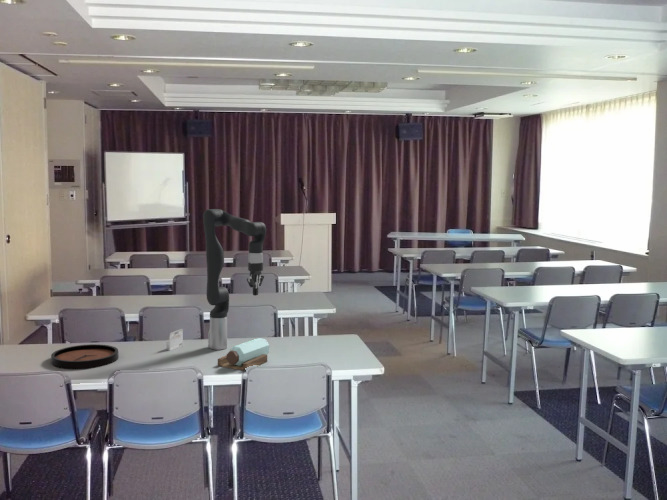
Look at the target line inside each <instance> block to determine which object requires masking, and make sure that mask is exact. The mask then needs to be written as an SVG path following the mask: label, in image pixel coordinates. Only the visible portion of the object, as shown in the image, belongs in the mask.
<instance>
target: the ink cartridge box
mask: <svg viewBox="0 0 667 500" xmlns="http://www.w3.org/2000/svg"><path fill="white" fill-rule="evenodd" d="M183 330H184V329H183V328H181V329H177V330H174V331H172V332H169V339H168V340H166V341H165V342H166V351H172V350H175V349H178V348H180V347H181V348H182V347H183V346H184V340H183V339H184V338H183V333H184V331H183Z"/></svg>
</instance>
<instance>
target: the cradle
mask: <svg viewBox="0 0 667 500" xmlns="http://www.w3.org/2000/svg"><path fill="white" fill-rule="evenodd" d="M267 362H268V354H267V355H265V354H263V355H261V356H258V357H256V358H254V359H252V360H250V361H247V362H245V363H243V365H241V366H237V365H233V364H229V362H228V361H227V354H226V355H224V356H221V357H219V358H217V366H218V367H223V368H228V369H235V370H238V371H239V370H240V371H244V370H245V368H247V367H249V366H253V365H259V366H261V365H263V364H265V363H267Z"/></svg>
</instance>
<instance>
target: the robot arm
mask: <svg viewBox="0 0 667 500" xmlns="http://www.w3.org/2000/svg"><path fill="white" fill-rule="evenodd" d="M202 221H203V222H202V223H203V230H204V237H205V249H206V250H205V252H206V253H205V257H206V275H207V276H206V300H207V303H208V304H209V305H210V306H214V307H213V309H211V310H210V311H209V330H208V332H207V333H208V336H207V337H208V338H207V339H208V341H207V344H208V345H207V348H208V349H211V350H218V351H219V350H225V349H227V348H228V312H229V307H230V293H229V292H230V291H228V289H227V288H226V287H225V286H219V281H220V280H219V278H220V275H221V272H222V271H223V268H224V264H225V255H224V253H225V252H224V248H223V247H222V245H221V243H220V241H219V239H218V237H217V235H216V227H220V226H224V227H225V226H227V227H230V228H231V229H232V230H234V231H236V232H240V233H243V234H244V235H246V236H248V237H254V238H253V240H251V241H249V243H248V259H247V263H248V264H247V268H248V269H247V271H248V272H249V277H248V278H246V282H247V283H248V286H249V288H252V295H253V296H258V295H259V288H260V287H261V286H262V283H263V281H264V278H265V275H262V272H263V271H264V253H263V251H264V250H263V249H264V248H263V247H264V241H265V238H266V234H267V228H266V227H267V226H266V224H265V223H264V222H261V221H253V222H251V221H250V220H249V219H246V218H242V217H239V216H237V215H236V216H235V215H233V214H230V213H229V212H227V211H224V210H223V209H220V208H211V209H205V211H204V212H203V214H202Z"/></svg>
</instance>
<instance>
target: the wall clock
mask: <svg viewBox="0 0 667 500" xmlns="http://www.w3.org/2000/svg"><path fill="white" fill-rule="evenodd" d="M119 357H120V356H119V349H118V348H117V347H116V346H112V345H107V344H99V343H96V344H93V343H92V344H80V345H73V346H69V347H63V348H60V349H58V350H56V351H53V352H52V353H51V354H50V364H51V365H52V366H53V367H55V368H58V369H64V370H65V369H66V370H86V369H88V370H89V369H95V368H99V367H105V366H108V365H110V364H113V363H115V362H117V361H118V360H119Z"/></svg>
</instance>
